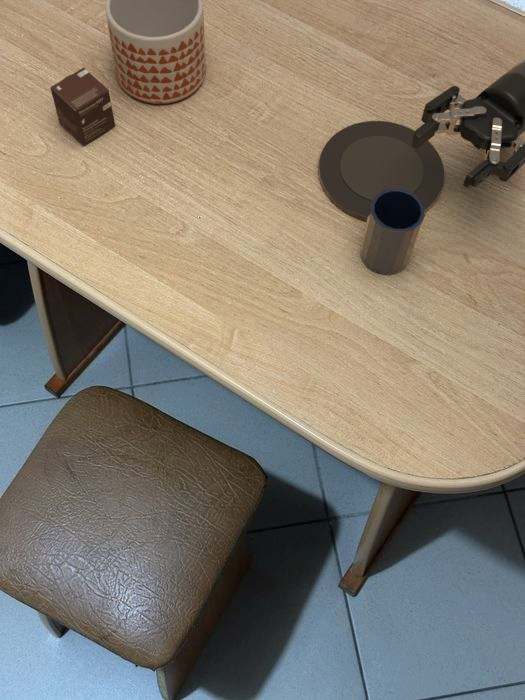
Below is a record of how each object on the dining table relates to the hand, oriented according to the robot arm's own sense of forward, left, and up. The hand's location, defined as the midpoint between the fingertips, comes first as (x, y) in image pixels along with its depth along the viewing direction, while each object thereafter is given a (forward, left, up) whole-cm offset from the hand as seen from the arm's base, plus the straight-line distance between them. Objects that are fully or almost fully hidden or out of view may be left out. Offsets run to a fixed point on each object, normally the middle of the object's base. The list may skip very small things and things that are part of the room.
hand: (440, 162), depth 105 cm
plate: (+5, -9, -14) cm, 17 cm away
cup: (+5, +5, -14) cm, 15 cm away
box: (+48, -16, -14) cm, 52 cm away
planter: (+38, -27, -14) cm, 49 cm away
